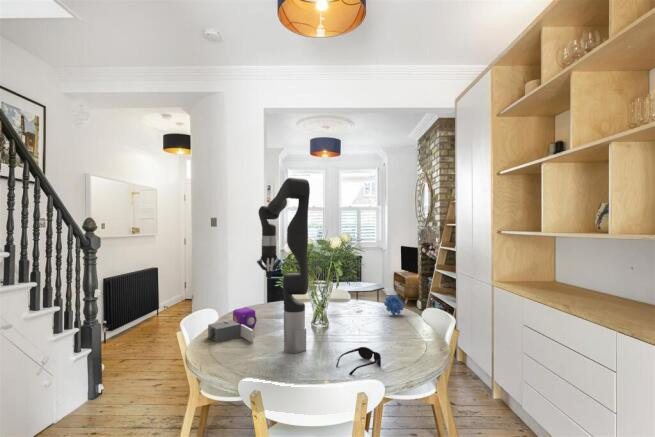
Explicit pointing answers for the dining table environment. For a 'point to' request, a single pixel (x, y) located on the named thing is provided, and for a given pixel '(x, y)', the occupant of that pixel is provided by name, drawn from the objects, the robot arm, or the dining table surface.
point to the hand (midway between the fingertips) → (268, 278)
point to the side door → (247, 333)
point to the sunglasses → (365, 354)
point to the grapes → (393, 304)
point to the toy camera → (245, 317)
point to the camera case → (224, 330)
